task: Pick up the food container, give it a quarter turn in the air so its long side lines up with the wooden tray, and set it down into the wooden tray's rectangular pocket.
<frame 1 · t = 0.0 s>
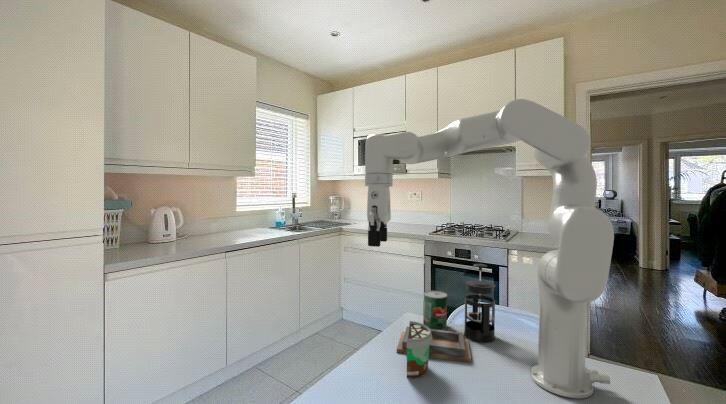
hand: (377, 243, 86), 31 cm above the table, tool pointing down, fingers open, 9 cm apart
wooden tray: (433, 347, 92), on the table
canned tomato: (434, 326, 108), on the table
french press: (479, 337, 99), on the table
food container: (419, 369, 80), on the table
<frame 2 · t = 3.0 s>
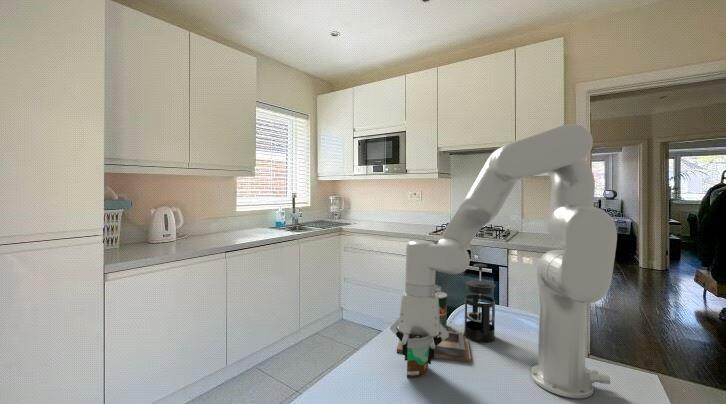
hand: (418, 358, 80), 3 cm above the table, tool pointing down, fingers closed on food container, 5 cm apart
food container: (420, 369, 80), on the table, touching gripper
everything else where it was.
when the fingers open (5 cm above the table, at t = 8.9 s): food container drops 1 cm, resting on wooden tray.
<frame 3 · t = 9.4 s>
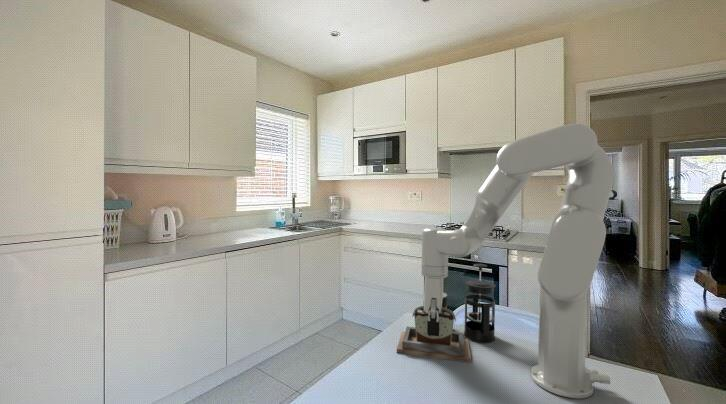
hand: (433, 328, 92), 6 cm above the table, tool pointing down, fingers open, 9 cm apart
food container: (433, 342, 93), point 1 cm above the table, touching wooden tray
everything else where it was.
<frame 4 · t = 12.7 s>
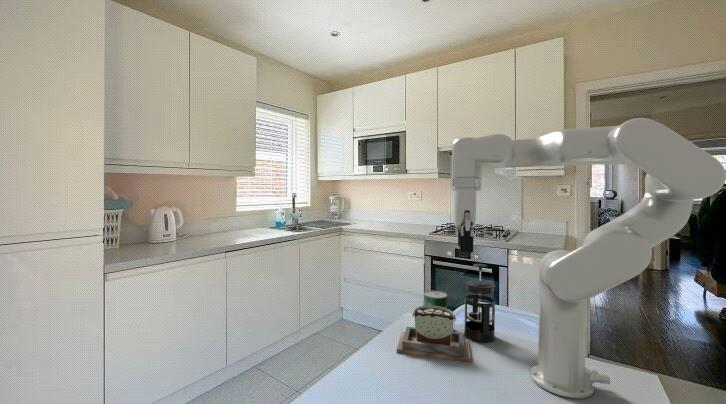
hand: (465, 248, 84), 30 cm above the table, tool pointing down, fingers open, 9 cm apart
nothing on the table moved.
at the end: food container 1.2 cm off-centre on the wooden tray, point 0.8 cm above the wooden tray's base; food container tilted 0°; the gripper is holding nothing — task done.
